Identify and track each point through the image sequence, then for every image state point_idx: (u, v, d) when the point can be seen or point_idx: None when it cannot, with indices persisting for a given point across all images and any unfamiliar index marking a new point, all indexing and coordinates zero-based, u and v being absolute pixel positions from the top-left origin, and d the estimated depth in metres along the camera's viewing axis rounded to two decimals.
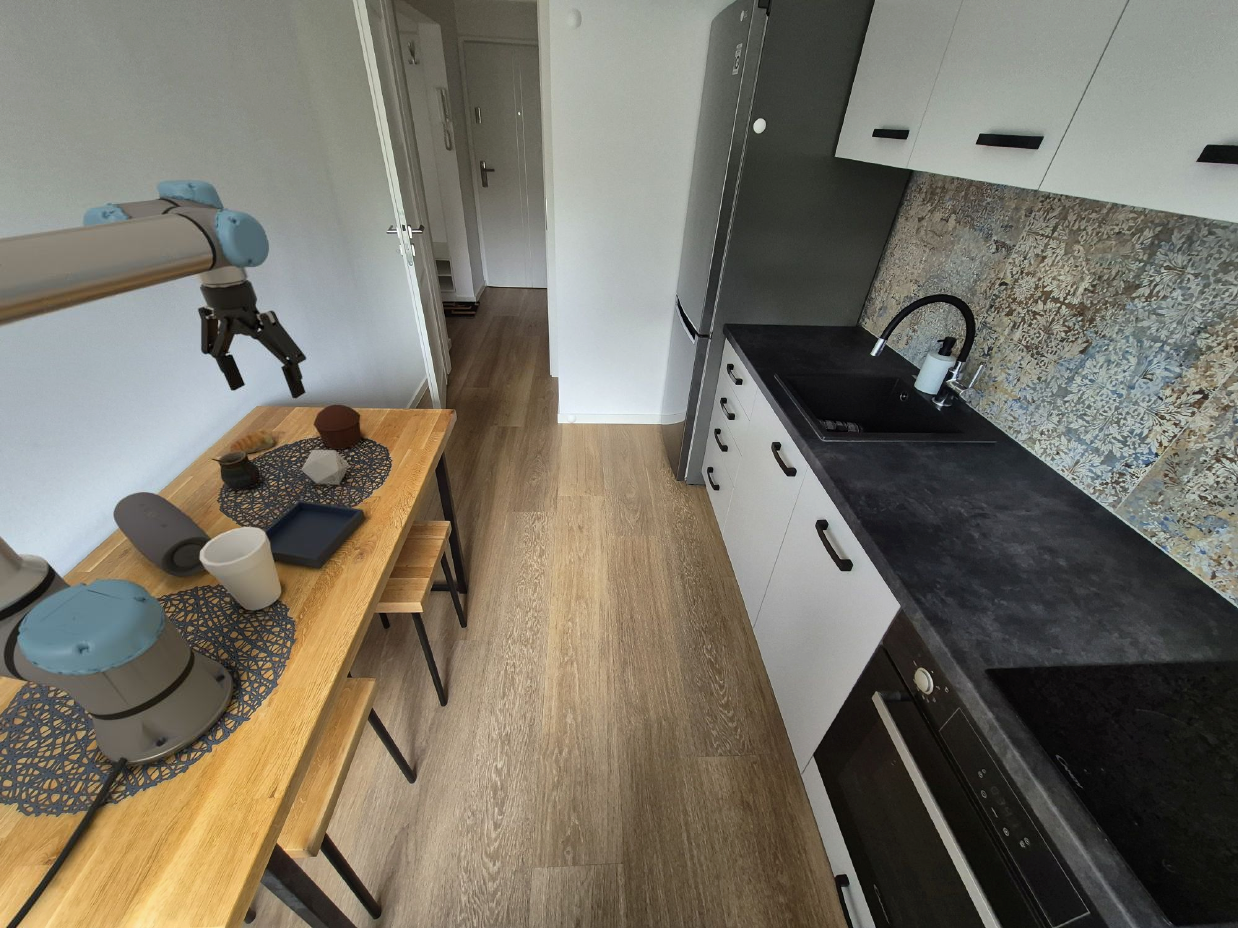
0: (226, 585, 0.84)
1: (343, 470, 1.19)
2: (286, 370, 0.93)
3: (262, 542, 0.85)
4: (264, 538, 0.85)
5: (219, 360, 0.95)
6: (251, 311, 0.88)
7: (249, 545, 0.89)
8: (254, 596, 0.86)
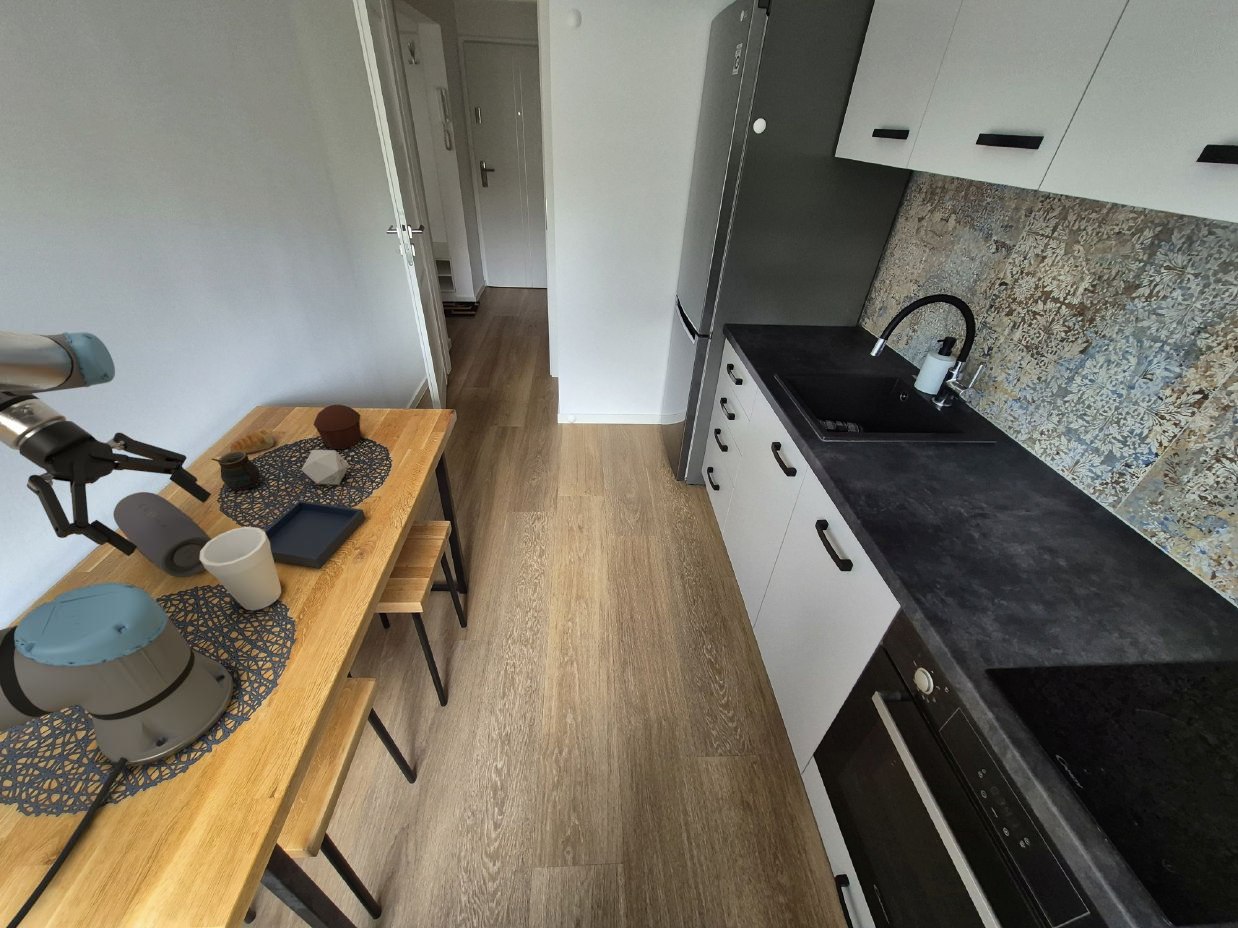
0: (226, 585, 0.84)
1: (343, 470, 1.19)
2: None
3: (262, 542, 0.85)
4: (264, 538, 0.85)
5: None
6: None
7: (249, 545, 0.89)
8: (254, 596, 0.86)
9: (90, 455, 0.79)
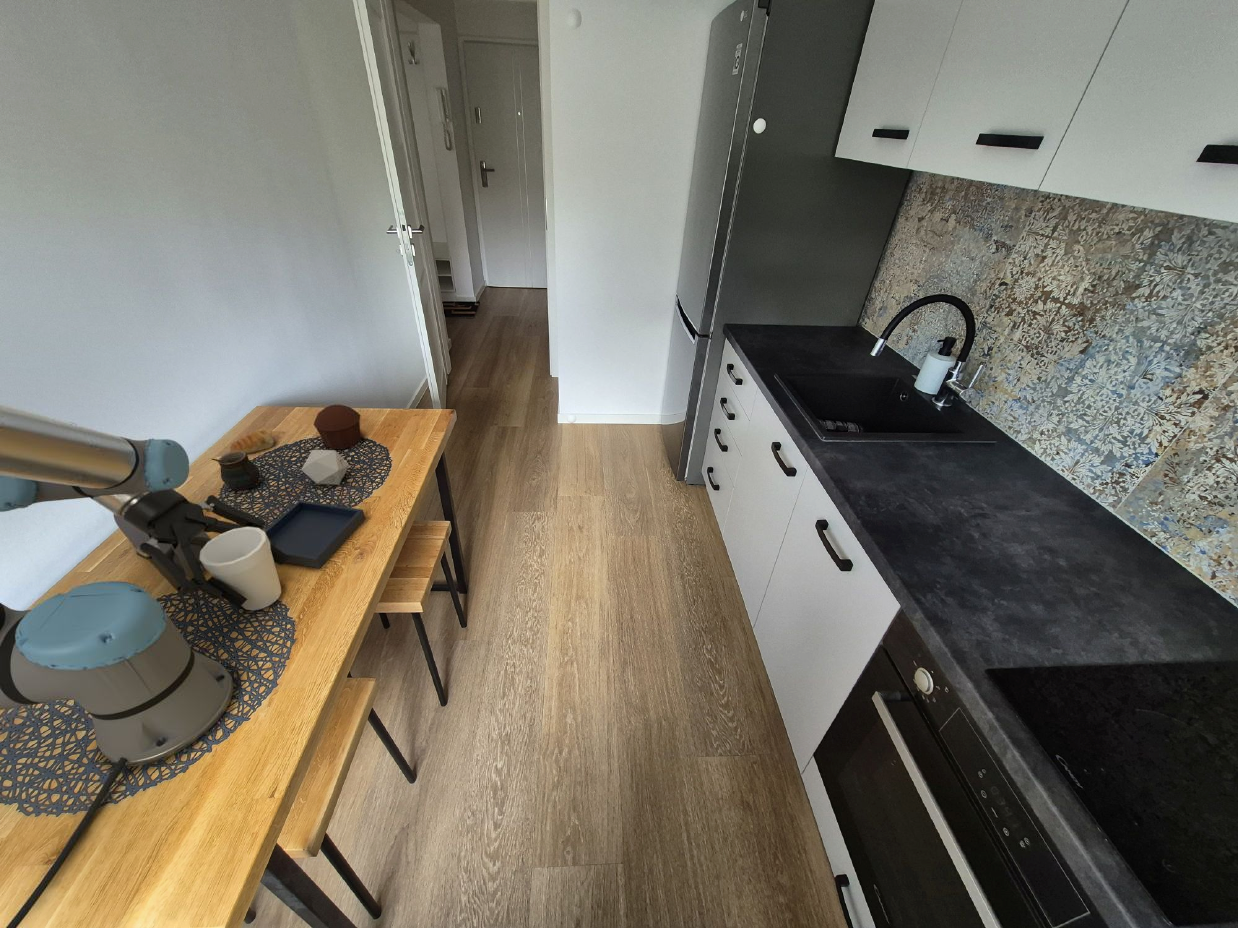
0: None
1: (343, 470, 1.19)
2: None
3: (262, 542, 0.85)
4: (264, 538, 0.85)
5: None
6: (148, 534, 0.80)
7: (249, 545, 0.89)
8: (254, 596, 0.86)
9: (185, 516, 0.83)
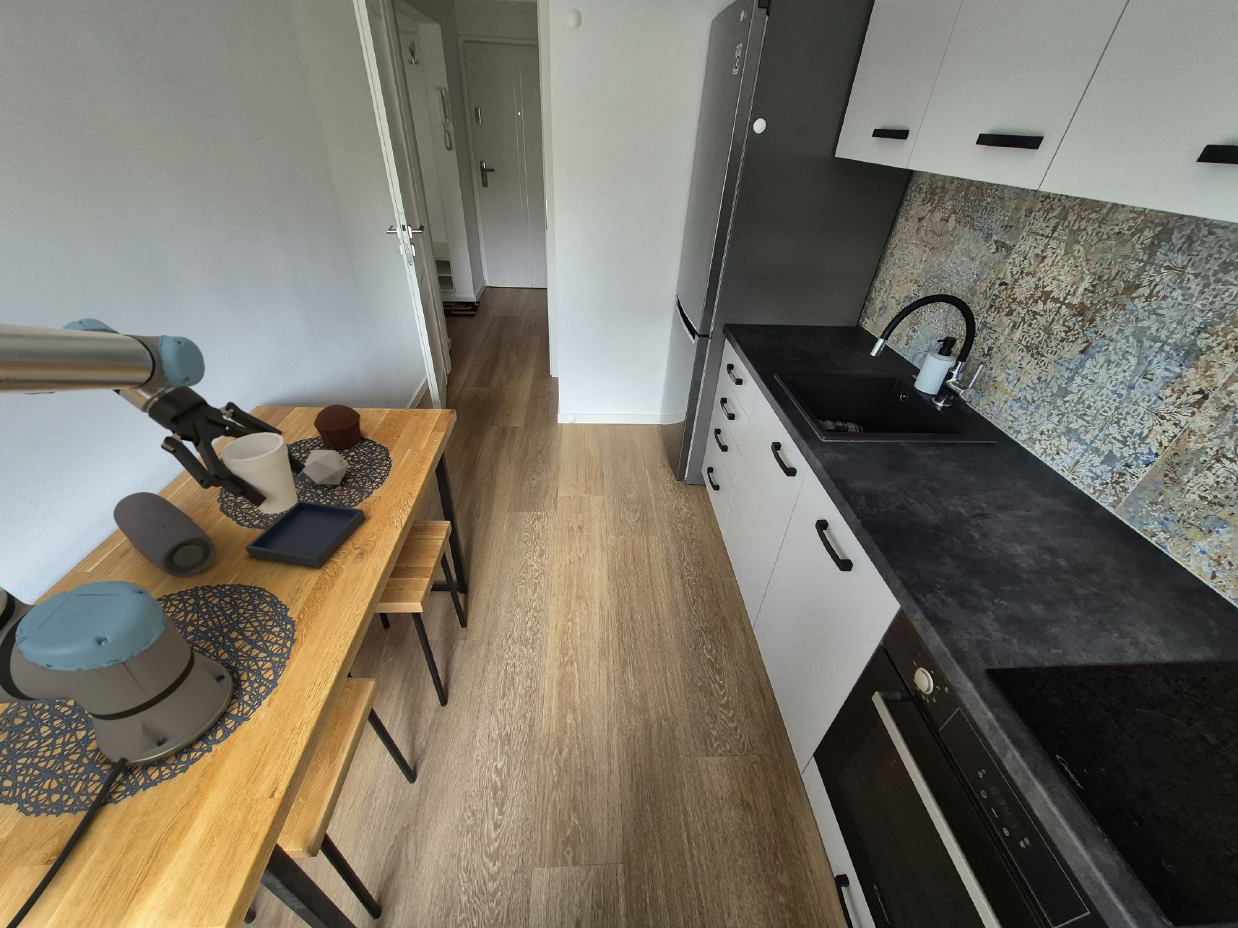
0: None
1: (343, 470, 1.19)
2: None
3: (280, 444, 0.88)
4: (282, 441, 0.88)
5: None
6: (171, 431, 0.83)
7: (267, 451, 0.92)
8: (272, 498, 0.90)
9: (206, 417, 0.86)
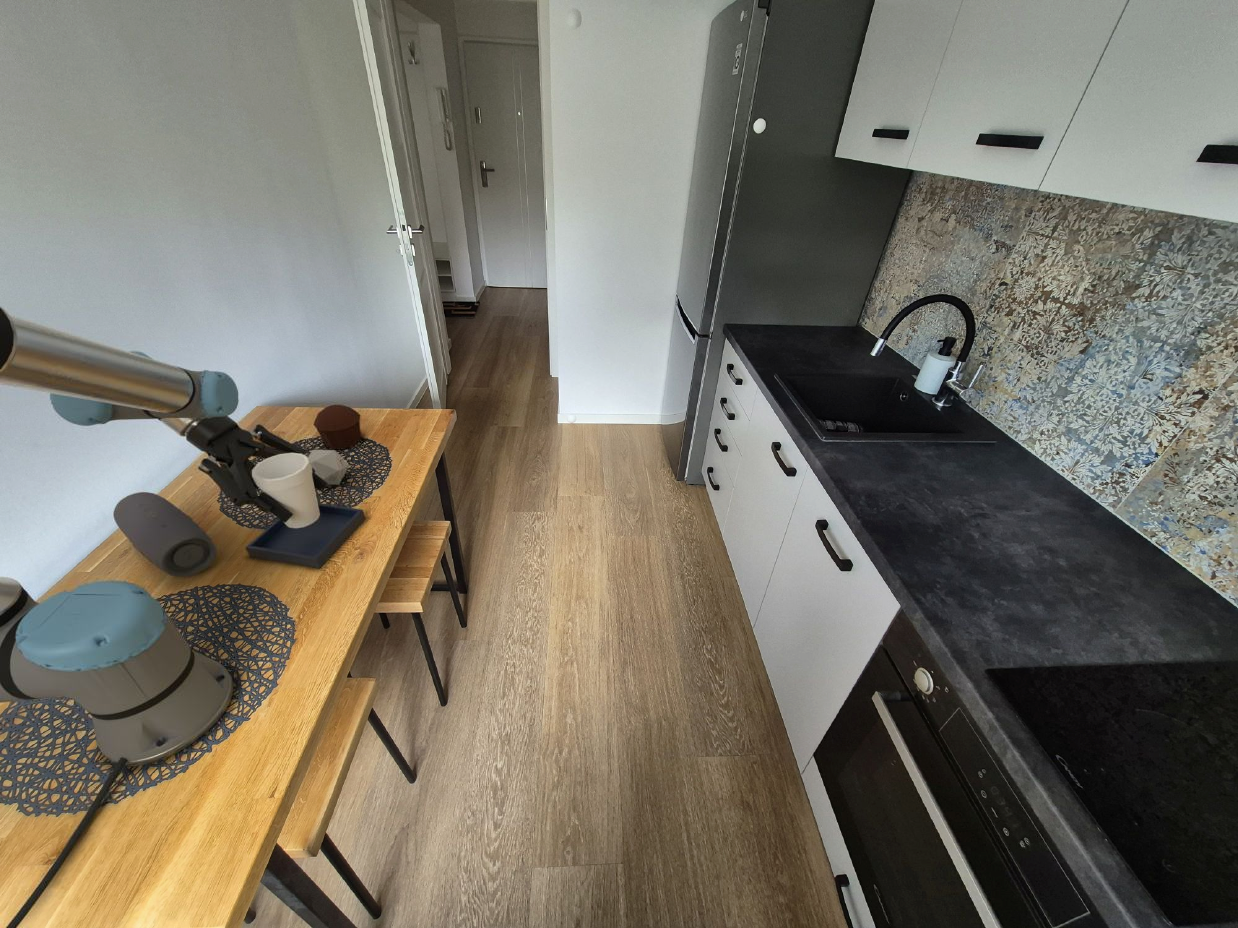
0: None
1: (343, 470, 1.19)
2: None
3: (306, 464, 0.95)
4: (307, 461, 0.96)
5: None
6: (207, 453, 0.90)
7: (292, 470, 0.99)
8: (298, 514, 0.97)
9: (238, 440, 0.93)
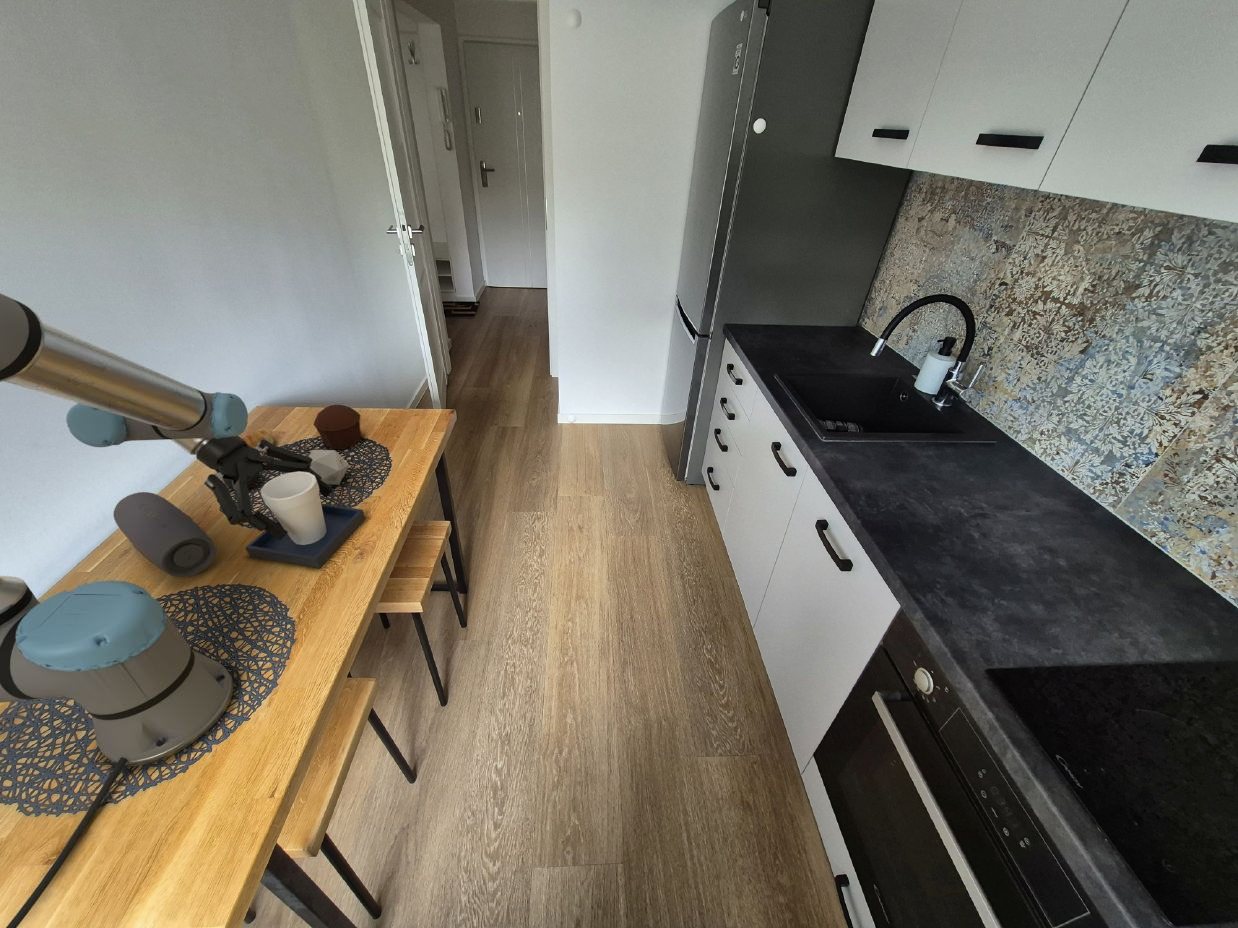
0: (282, 520, 0.97)
1: (343, 470, 1.19)
2: None
3: (313, 483, 0.98)
4: (314, 480, 0.98)
5: None
6: (216, 471, 0.92)
7: (300, 488, 1.02)
8: (305, 531, 0.99)
9: (247, 458, 0.95)
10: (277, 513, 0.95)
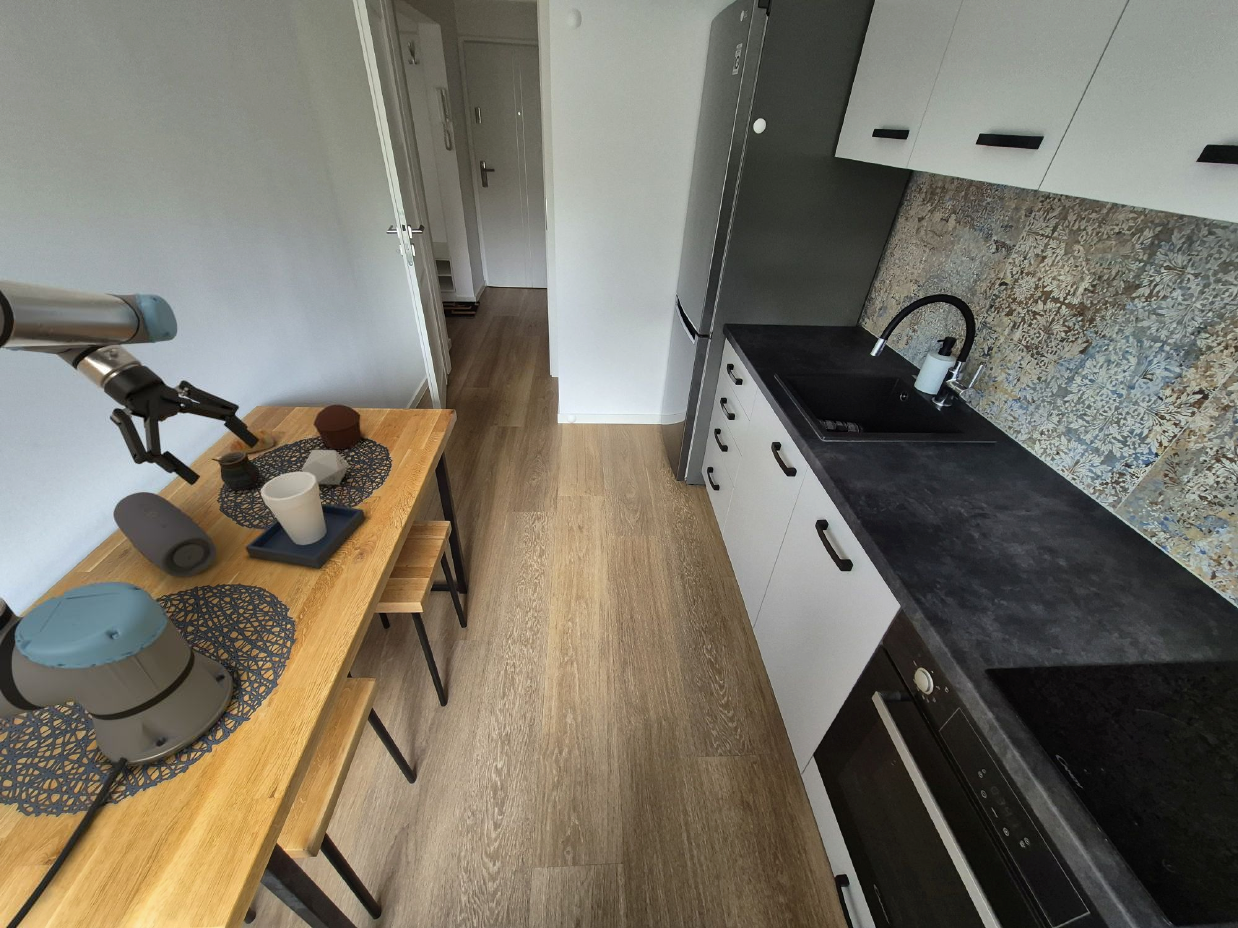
0: (282, 520, 0.97)
1: (343, 470, 1.19)
2: None
3: (313, 483, 0.98)
4: (314, 480, 0.98)
5: None
6: None
7: (299, 488, 1.02)
8: (305, 531, 0.99)
9: (161, 396, 0.90)
10: (277, 513, 0.95)
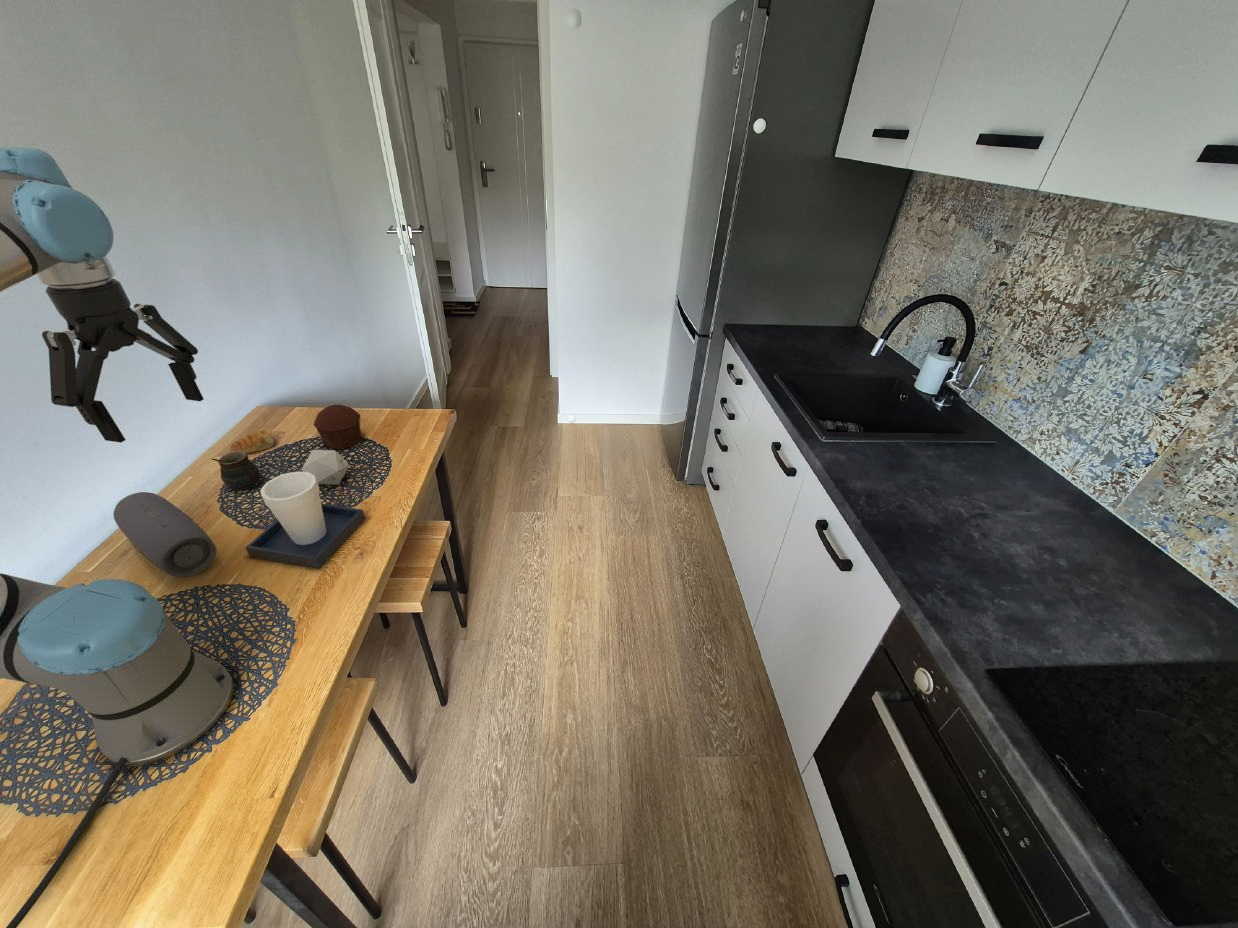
0: (282, 520, 0.97)
1: (343, 470, 1.19)
2: None
3: (313, 483, 0.98)
4: (314, 480, 0.98)
5: None
6: (68, 324, 0.67)
7: (299, 488, 1.02)
8: (305, 531, 0.99)
9: (120, 326, 0.71)
10: (277, 513, 0.95)
